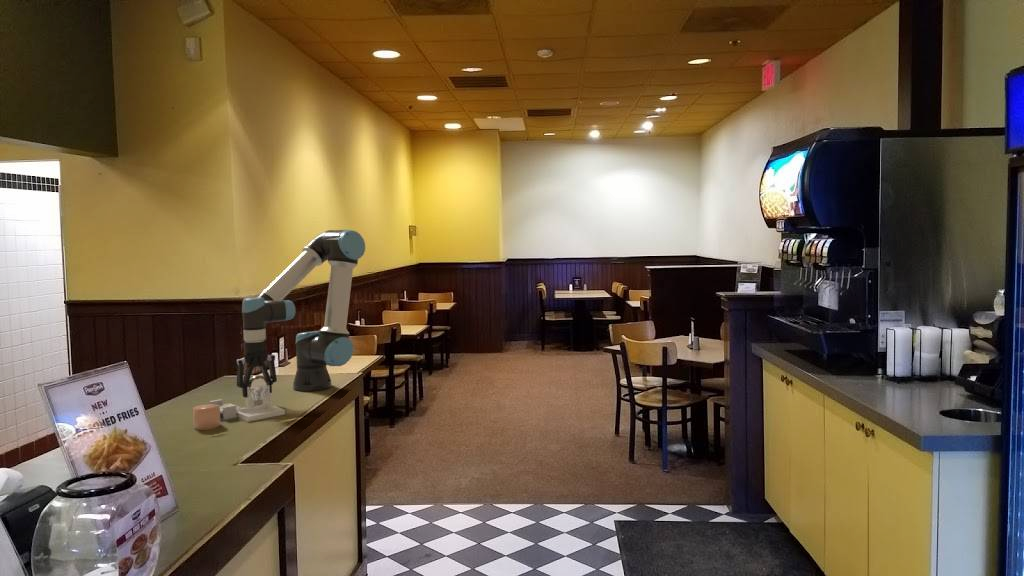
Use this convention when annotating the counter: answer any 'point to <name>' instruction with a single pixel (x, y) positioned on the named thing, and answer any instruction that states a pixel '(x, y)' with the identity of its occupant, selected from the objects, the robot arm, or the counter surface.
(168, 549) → the counter surface
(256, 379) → the light bulb
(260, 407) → the tray
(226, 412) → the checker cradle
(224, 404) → the plate
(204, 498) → the counter surface
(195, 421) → the peach rounded pebble
